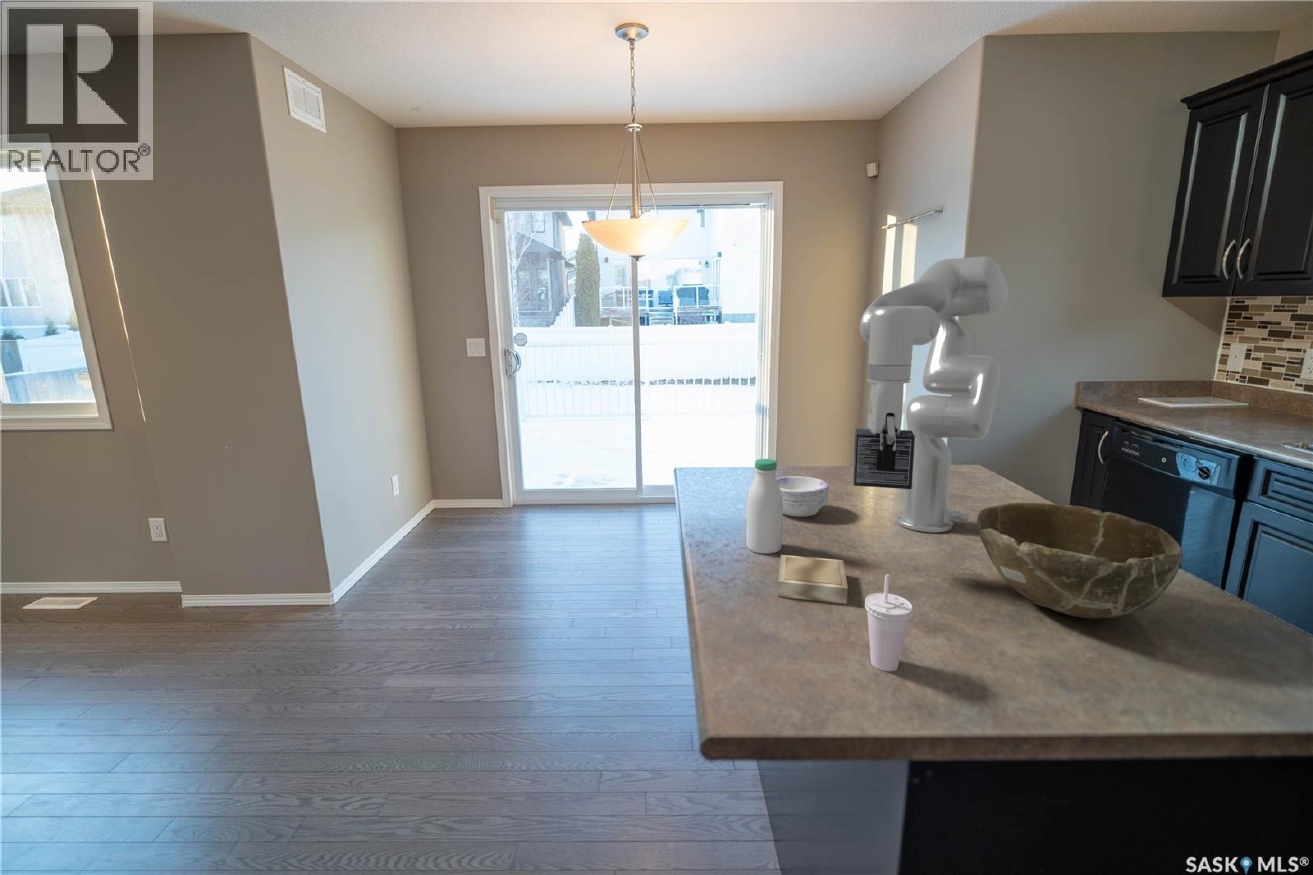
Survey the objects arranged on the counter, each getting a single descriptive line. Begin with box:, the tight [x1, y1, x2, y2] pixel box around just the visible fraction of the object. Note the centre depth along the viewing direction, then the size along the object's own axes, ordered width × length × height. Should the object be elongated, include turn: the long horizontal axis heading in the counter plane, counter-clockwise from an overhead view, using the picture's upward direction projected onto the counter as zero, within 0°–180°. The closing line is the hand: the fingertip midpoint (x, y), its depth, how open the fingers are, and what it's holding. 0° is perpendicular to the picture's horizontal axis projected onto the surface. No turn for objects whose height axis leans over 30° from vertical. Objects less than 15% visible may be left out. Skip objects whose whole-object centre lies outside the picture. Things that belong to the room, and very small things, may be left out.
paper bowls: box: [776, 475, 829, 518], centre depth 145 cm, size 15×15×8 cm
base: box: [777, 554, 849, 605], centre depth 105 cm, size 12×12×3 cm
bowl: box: [976, 502, 1184, 620], centre depth 94 cm, size 28×27×15 cm
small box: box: [852, 428, 915, 490], centre depth 108 cm, size 11×6×10 cm, turn 71°
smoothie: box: [864, 573, 914, 672], centre depth 80 cm, size 6×6×14 cm
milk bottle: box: [745, 458, 784, 555], centre depth 121 cm, size 8×8×20 cm
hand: (882, 464), depth 108 cm, fingers closed on small box, 6 cm apart
